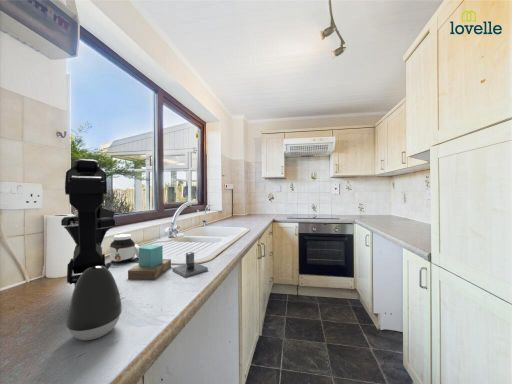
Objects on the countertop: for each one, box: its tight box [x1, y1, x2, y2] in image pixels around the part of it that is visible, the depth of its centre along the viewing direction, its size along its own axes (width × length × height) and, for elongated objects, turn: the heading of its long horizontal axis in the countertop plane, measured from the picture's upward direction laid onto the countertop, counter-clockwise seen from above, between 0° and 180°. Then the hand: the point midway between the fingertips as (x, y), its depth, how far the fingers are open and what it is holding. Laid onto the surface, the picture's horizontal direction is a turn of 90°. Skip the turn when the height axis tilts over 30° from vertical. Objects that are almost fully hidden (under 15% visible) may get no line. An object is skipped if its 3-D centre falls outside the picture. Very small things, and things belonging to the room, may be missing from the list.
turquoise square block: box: [138, 244, 164, 268], centre depth 90 cm, size 6×6×7 cm
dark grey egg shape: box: [65, 262, 123, 341], centre depth 52 cm, size 10×10×15 cm
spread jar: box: [109, 233, 140, 264], centre depth 106 cm, size 12×11×12 cm
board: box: [127, 258, 172, 280], centre depth 90 cm, size 14×10×3 cm
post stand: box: [171, 251, 209, 278], centre depth 91 cm, size 10×10×7 cm
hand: (88, 247), depth 78 cm, fingers open, 9 cm apart
